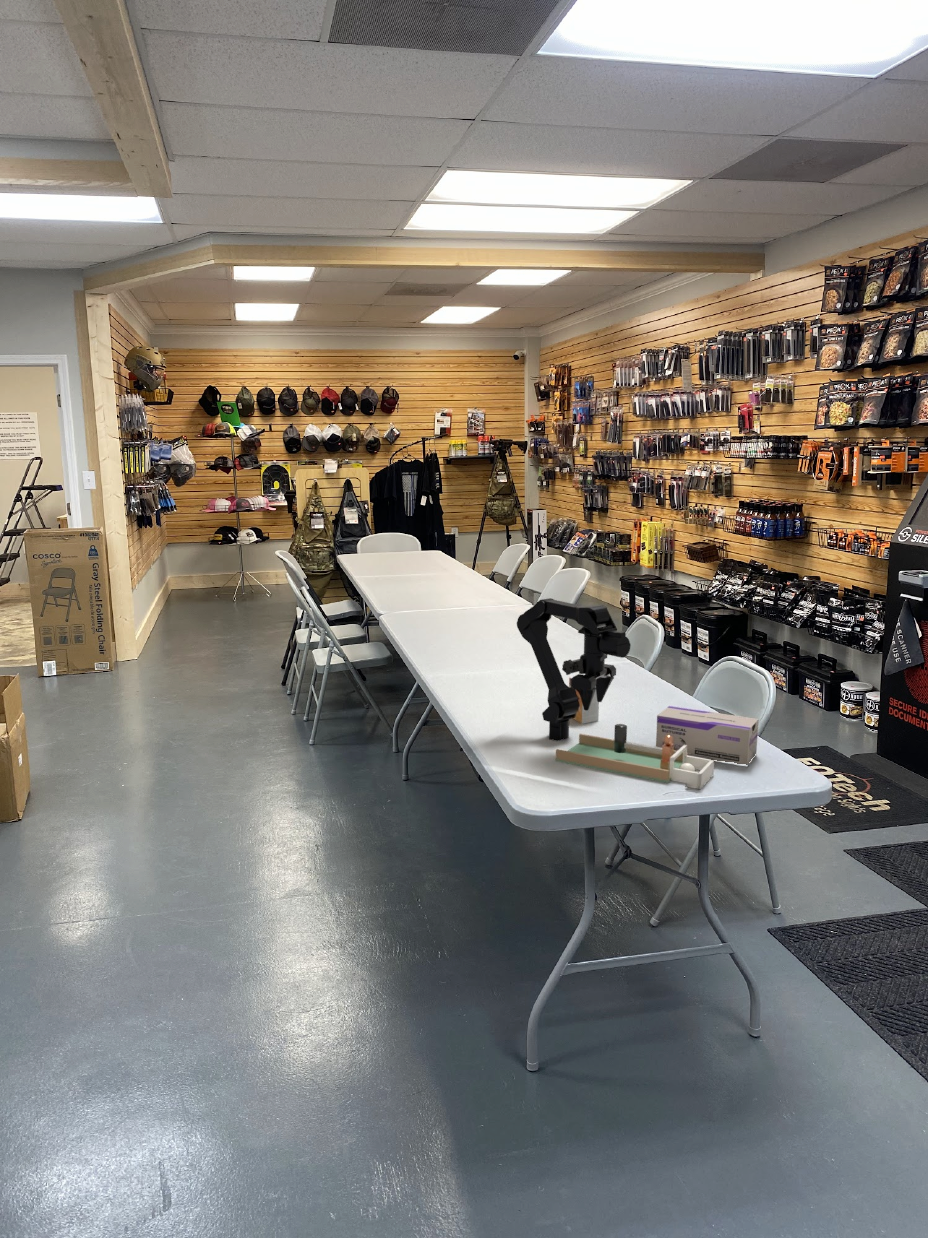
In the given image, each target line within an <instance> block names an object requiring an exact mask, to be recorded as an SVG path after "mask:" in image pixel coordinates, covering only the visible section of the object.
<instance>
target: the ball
mask: <svg viewBox="0 0 928 1238" xmlns="http://www.w3.org/2000/svg"><path fill="white" fill-rule="evenodd" d="M679 769H682V770H688V771H693V772H696V769H695V768H694V766H693V765H692V764H690V763H684V764H682V765H681V766H680V768H679Z"/></svg>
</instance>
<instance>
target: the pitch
mask: <svg viewBox="0 0 928 1238" xmlns="http://www.w3.org/2000/svg"><path fill="white" fill-rule="evenodd" d="M676 752H677V751H676V750H673V755H674V754H675V753H676ZM687 755H688V756H689V754H688V753H687ZM661 760H662V755H660V754H654V753H649V752H643V751H638V750H632V749H627V748H626V752H625V753H616V752H614V739H613V738H612V739H611V738H607V737H600V736H596V735H595V736H594V735H590V734H584V733H579V735H578V743H577V744H576V745H574V746H572V747H571V748H570V749H568V750H562V749H558V748H557V749H556V750H555V761H556V762H560V763H565V764H570V765H574V766H581V767H585V768H590V769H595V770H600V771H606V772H611V773H616V774H621V775H626V776H631V777H636V778H641V779H647V780H651V781H652V780H653V781H656V782H661V783H667V784H669V783H670V782H671V781H672V780H671V778H669V775H670V770H665V769H660V763H661ZM682 764H683V752H682V753H681V754H680V755H679V756H678V757H677V758H676V759H675V760H674V768H677V769H679V768H680V766H681V765H682Z"/></svg>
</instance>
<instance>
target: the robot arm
mask: <svg viewBox="0 0 928 1238" xmlns="http://www.w3.org/2000/svg"><path fill="white" fill-rule="evenodd" d="M552 616H554V617H555V616H556V617H560V618H565V619H569V620H572V621H574V622H576V623H577V624H578V625H579V626H582V627H581V628H580V629H579V630H578V631H577V633H578V634H581V635H583V654H581V655H580V656H579V658H578V659H573V660H572V659H568V660H567V659H566V660H564V661H563V663H562V669H561V670H562V671H563V672H564V673H565V675H566V676H569V675H571V674H575V673H578V674H575V675H573V676H572V677H573V678H571V679H570V686H571V687H569V685H567V684H566V683H565V680H564V678H563V676H562V673H561V670H560V667H559V666H558V663H557V661H556V658H555V656H554V653H553V651H552V648H551V646H550V643H549V641H548V633H549V632H548V631H549V628H548V627H549V626H548V622H549V621H550V620H551V619H552ZM516 627H517V630H518V631H519V633H520V635H521V637H522V638H523V639H524V640H525V641H527V643H529V644H530V646H531V648H532V651H533V654H534V656H535V658H536V661H537V663H538V667H539V668H540V671H541V673H542V676H543V679H544V681H545V684H546V686H547V688H548V694H547V704H548V707H547V708H546V709H545V710H544V711H543V712H542V713H541V715H542V719H543V721H545V722H548V723H549V724H548V725H549V727H548V729H549V731H548V735H549V737H548V738H549V740H551V741H563V740H568V739H569V737H570V720H571V719H573V718H575V716H576V713H577V711H578V709H579V707H580V704H579V701H578V700H579V697H578V696H577V694H576V690H577V691H578V692H579V694H580V697H581V700H582V704H583V707H584V710H587V711H588V710H589V707H590V705H591V702H592V699H593V696H594V693H595V690H596V695H597V701H598V702H599V703H602V702H603V700H604V698H605V696H606V694H607V691H608V689H609V687H610V685H611V684H612V681H613V680H614V679H615V676H617V668H616V667H615V666H614V664H607V663H605V661H606V659H608V656H612V657H615V658H616V657H618V658H621V659H623V658H626V657H627V656H628V655H629V654H630V650H631V646H632V645H631V641H630V640H629V638H628V637H627V635H626V634H627V633H626V631H618V628H617V626H616V624H615V622H614V620H613V618H612V616H611V613H609V610H608V607H607V606H606V605H604V604H593V605H591V604H590V605H581V604H576V603H570V602H567V601H563V600H557V599H555V598H548V597H547V598H542V599H540V600H538V601H536V603H535V604H534V605H533V606H531V607H529V609H527V610H526V611H525V612H523V613H522V614H520V615H519V616H518V618H517V620H516ZM595 686H596V687H595ZM575 689H576V690H575Z"/></svg>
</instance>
